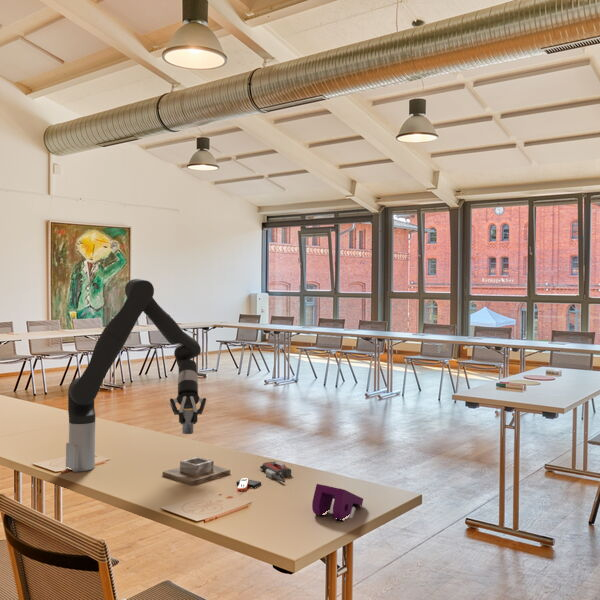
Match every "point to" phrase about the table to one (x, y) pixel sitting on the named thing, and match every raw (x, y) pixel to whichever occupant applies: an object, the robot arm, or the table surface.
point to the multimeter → (246, 484)
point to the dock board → (196, 471)
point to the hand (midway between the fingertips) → (188, 422)
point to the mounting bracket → (341, 502)
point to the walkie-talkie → (276, 470)
